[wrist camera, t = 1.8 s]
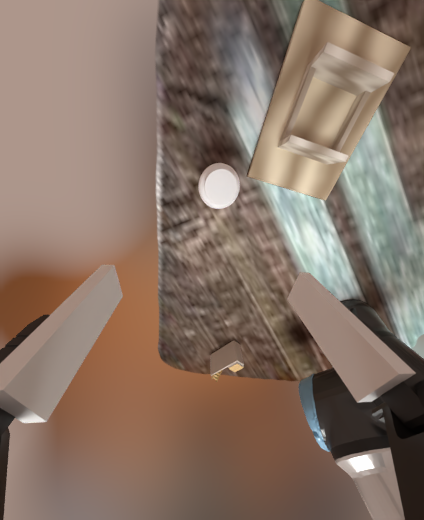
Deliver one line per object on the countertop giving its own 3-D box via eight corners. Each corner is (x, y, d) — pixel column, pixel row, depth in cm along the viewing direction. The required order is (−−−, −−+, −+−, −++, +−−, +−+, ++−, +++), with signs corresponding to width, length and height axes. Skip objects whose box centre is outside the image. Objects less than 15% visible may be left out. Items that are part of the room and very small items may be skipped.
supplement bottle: (226, 206, 30) (235, 217, 20) (198, 198, 30) (192, 206, 20) (235, 173, 28) (251, 167, 18) (204, 164, 27) (202, 153, 17)
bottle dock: (402, 53, 22) (453, 19, 17) (322, 199, 30) (342, 202, 26) (302, 3, 19) (330, -51, 15) (246, 176, 28) (254, 175, 24)
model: (239, 343, 51) (244, 368, 44) (216, 357, 54) (217, 382, 47) (233, 338, 50) (237, 363, 43) (210, 353, 53) (210, 378, 46)
